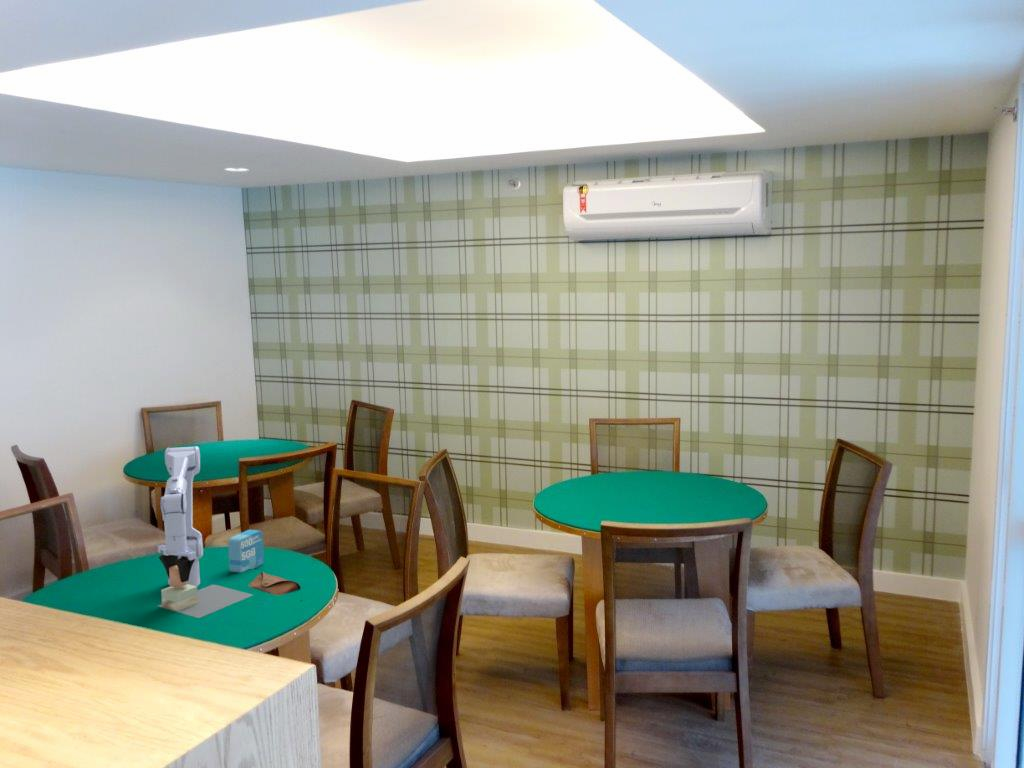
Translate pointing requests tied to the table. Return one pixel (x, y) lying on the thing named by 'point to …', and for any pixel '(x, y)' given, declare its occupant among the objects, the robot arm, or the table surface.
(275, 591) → the sunglasses case
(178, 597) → the sage top slab
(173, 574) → the terracotta cylinder
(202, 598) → the slate board
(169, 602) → the birch base slab
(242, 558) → the data package
